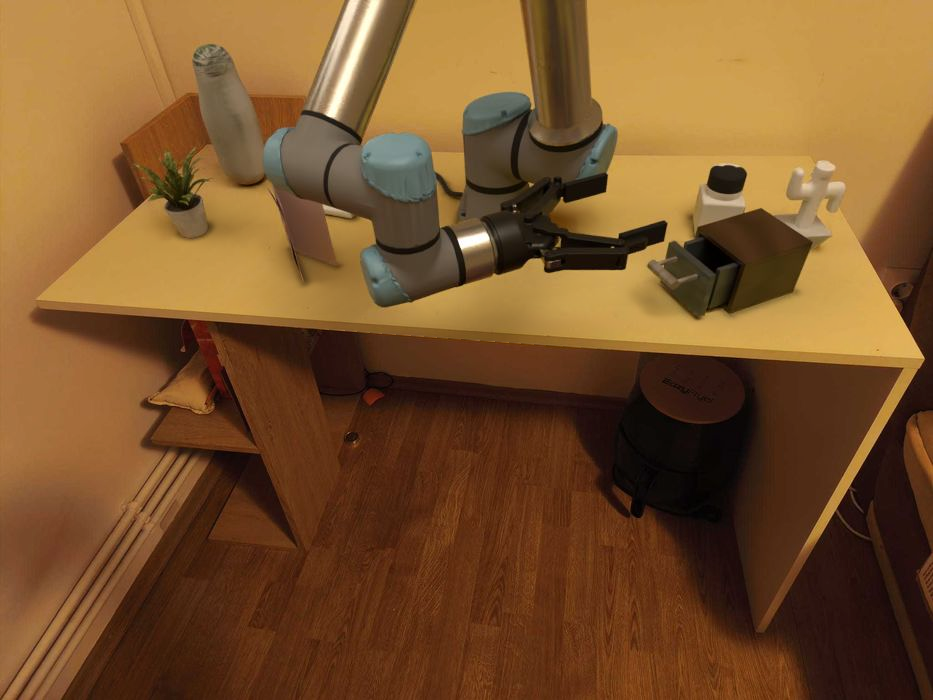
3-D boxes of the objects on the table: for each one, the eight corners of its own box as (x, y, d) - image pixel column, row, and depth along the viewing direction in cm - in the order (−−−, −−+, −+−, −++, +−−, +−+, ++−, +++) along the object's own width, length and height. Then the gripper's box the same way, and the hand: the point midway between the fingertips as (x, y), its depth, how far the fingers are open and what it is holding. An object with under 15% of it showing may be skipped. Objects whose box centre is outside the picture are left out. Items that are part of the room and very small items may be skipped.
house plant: (250, 229, 121) (224, 150, 110) (186, 261, 114) (151, 180, 103) (213, 205, 128) (184, 129, 117) (150, 234, 121) (114, 156, 110)
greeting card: (286, 250, 115) (263, 177, 104) (324, 240, 117) (306, 167, 106) (299, 284, 107) (276, 208, 97) (340, 272, 109) (322, 197, 99)
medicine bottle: (735, 240, 110) (754, 179, 102) (694, 237, 112) (709, 177, 103) (731, 219, 115) (748, 159, 107) (692, 216, 117) (706, 157, 108)
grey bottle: (217, 183, 135) (169, 48, 116) (256, 165, 140) (215, 33, 121) (244, 196, 130) (197, 58, 111) (282, 177, 136) (245, 42, 116)
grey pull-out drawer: (671, 326, 93) (681, 286, 88) (634, 290, 100) (641, 250, 95) (758, 297, 97) (772, 256, 92) (717, 263, 104) (728, 224, 99)
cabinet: (729, 313, 96) (745, 263, 90) (685, 275, 104) (697, 226, 97) (792, 292, 99) (813, 242, 93) (745, 256, 107) (761, 207, 100)
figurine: (831, 253, 106) (866, 173, 96) (776, 255, 106) (806, 176, 96) (813, 230, 112) (845, 152, 101) (761, 232, 112) (787, 155, 101)
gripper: (451, 223, 87) (582, 188, 92) (531, 330, 70) (686, 279, 75) (448, 175, 82) (587, 140, 87) (533, 278, 65) (699, 227, 70)
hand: (633, 205), depth 81 cm, fingers open, 13 cm apart
